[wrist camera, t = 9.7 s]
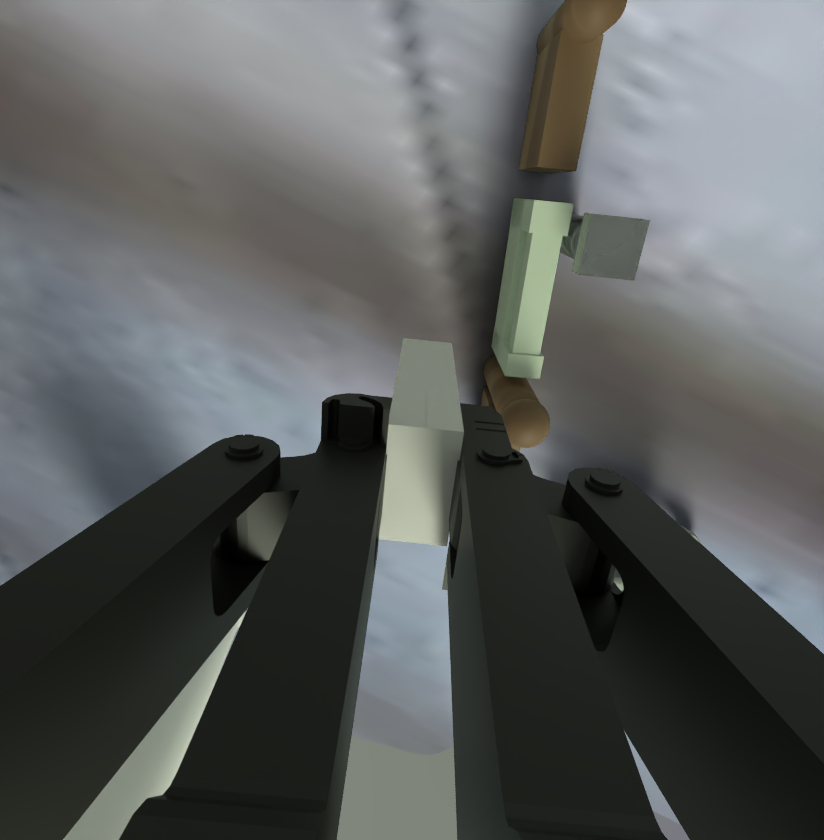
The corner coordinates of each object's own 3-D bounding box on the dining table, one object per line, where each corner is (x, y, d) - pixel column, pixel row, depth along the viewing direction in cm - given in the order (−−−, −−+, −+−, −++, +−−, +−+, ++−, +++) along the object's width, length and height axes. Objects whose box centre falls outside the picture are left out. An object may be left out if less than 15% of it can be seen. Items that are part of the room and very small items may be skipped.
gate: (520, 349, 32) (539, 379, 27) (491, 346, 32) (504, 376, 27) (546, 200, 29) (573, 203, 24) (514, 197, 29) (534, 200, 24)
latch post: (585, 210, 30) (649, 220, 21) (575, 255, 31) (634, 280, 22) (543, 206, 29) (591, 214, 21) (534, 251, 30) (578, 274, 22)
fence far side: (580, 22, 26) (633, -31, 20) (552, 173, 29) (591, 169, 22) (540, 17, 26) (580, -38, 20) (516, 169, 29) (544, 164, 22)
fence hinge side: (522, 353, 33) (560, 412, 24) (507, 435, 35) (536, 516, 27) (484, 349, 33) (508, 407, 24) (471, 431, 35) (489, 511, 26)
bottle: (274, 577, 40) (-33, 1408, 13) (217, 634, 43) (-144, 1436, 15) (185, 518, 38) (-411, 1362, 11) (130, 581, 41) (-471, 1401, 13)
